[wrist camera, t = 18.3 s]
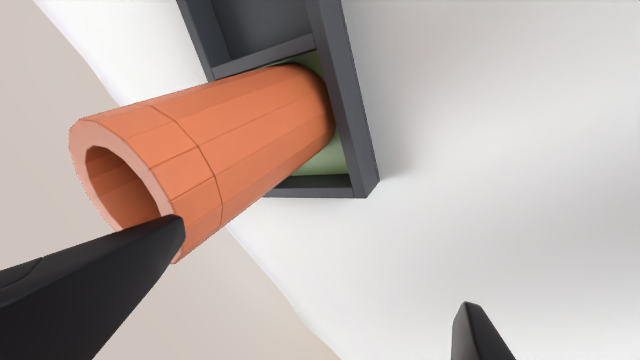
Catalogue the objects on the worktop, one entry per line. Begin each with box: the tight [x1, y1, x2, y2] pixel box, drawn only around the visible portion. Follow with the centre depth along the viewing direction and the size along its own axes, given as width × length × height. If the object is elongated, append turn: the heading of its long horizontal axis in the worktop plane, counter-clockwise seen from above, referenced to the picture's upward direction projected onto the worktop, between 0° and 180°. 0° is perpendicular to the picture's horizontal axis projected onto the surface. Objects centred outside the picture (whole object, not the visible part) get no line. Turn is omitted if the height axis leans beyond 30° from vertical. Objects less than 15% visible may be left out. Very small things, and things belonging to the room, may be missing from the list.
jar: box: [69, 62, 336, 264], centre depth 17 cm, size 6×6×12 cm
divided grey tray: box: [176, 0, 380, 198], centre depth 20 cm, size 10×19×2 cm, turn 17°
